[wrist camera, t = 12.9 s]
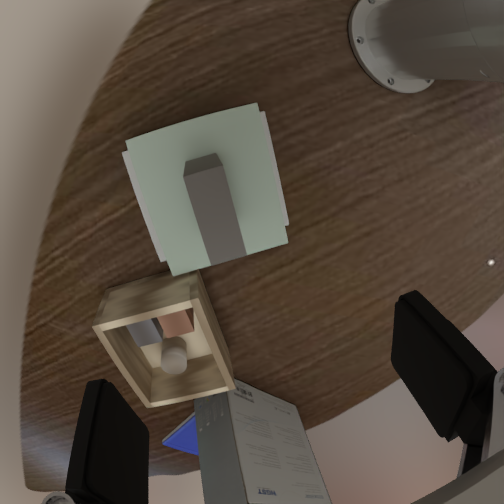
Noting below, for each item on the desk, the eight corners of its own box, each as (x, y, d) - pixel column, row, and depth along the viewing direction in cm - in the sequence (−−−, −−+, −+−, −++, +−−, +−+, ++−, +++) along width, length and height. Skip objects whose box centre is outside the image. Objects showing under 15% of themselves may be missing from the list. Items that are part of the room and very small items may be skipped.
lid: (253, 103, 28) (277, 100, 20) (283, 235, 34) (311, 276, 26) (129, 139, 27) (104, 150, 19) (173, 267, 33) (170, 317, 25)
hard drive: (200, 411, 43) (162, 444, 46) (243, 425, 47) (201, 456, 49) (200, 403, 45) (161, 437, 48) (241, 418, 48) (200, 449, 51)
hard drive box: (191, 399, 43) (203, 522, 26) (223, 371, 42) (248, 503, 24) (266, 428, 50) (294, 527, 32) (298, 404, 48) (337, 508, 30)
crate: (196, 262, 34) (198, 297, 28) (228, 348, 40) (235, 388, 34) (106, 289, 34) (91, 326, 27) (150, 368, 39) (147, 408, 33)
